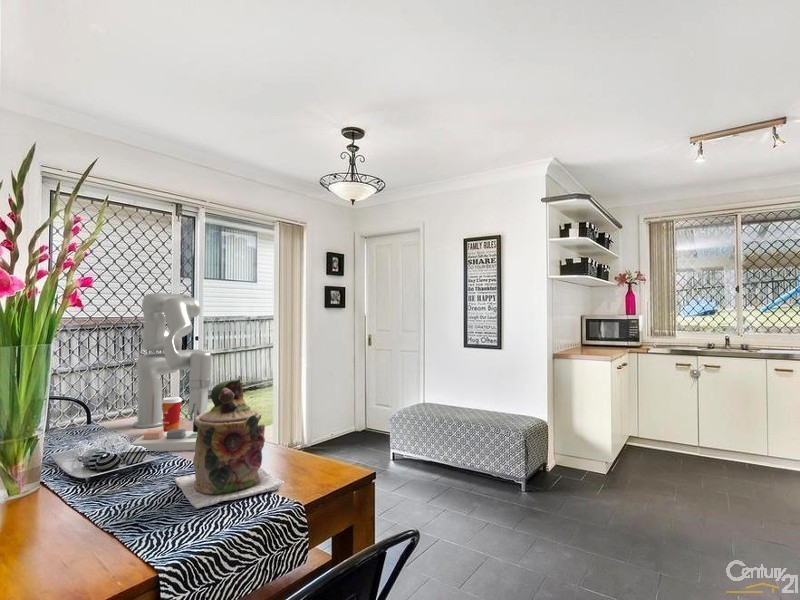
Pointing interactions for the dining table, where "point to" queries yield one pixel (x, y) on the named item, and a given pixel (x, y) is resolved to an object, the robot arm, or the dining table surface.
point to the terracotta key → (153, 434)
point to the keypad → (167, 443)
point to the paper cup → (171, 413)
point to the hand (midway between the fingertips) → (197, 431)
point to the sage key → (193, 435)
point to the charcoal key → (176, 433)
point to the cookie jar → (227, 451)
